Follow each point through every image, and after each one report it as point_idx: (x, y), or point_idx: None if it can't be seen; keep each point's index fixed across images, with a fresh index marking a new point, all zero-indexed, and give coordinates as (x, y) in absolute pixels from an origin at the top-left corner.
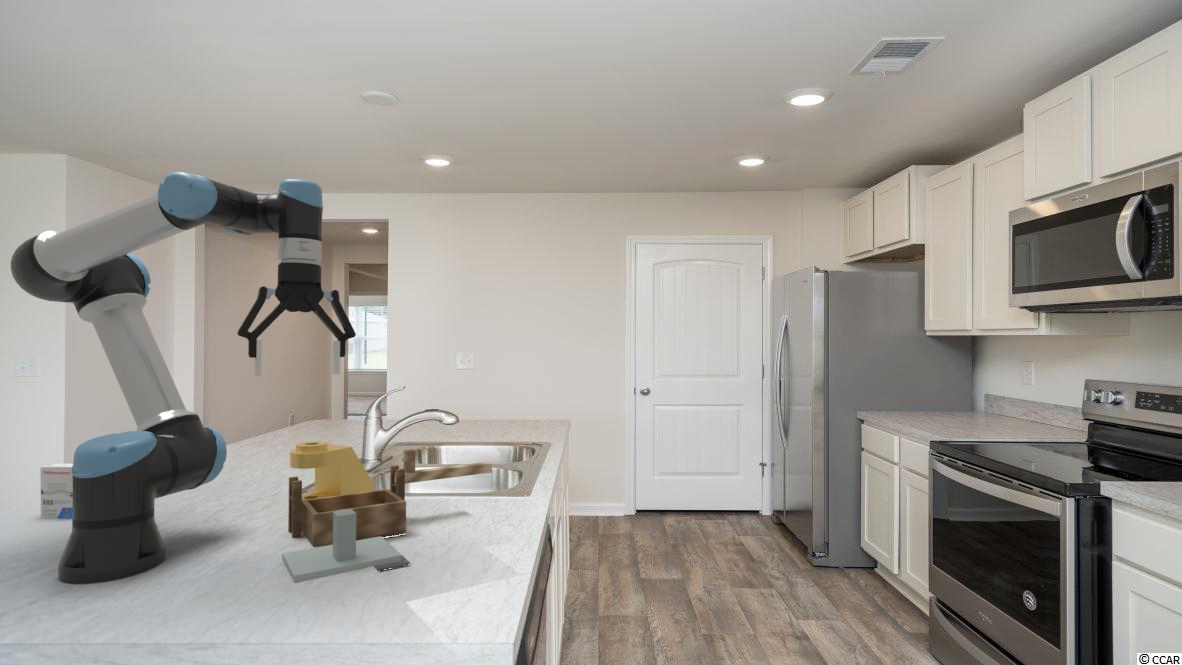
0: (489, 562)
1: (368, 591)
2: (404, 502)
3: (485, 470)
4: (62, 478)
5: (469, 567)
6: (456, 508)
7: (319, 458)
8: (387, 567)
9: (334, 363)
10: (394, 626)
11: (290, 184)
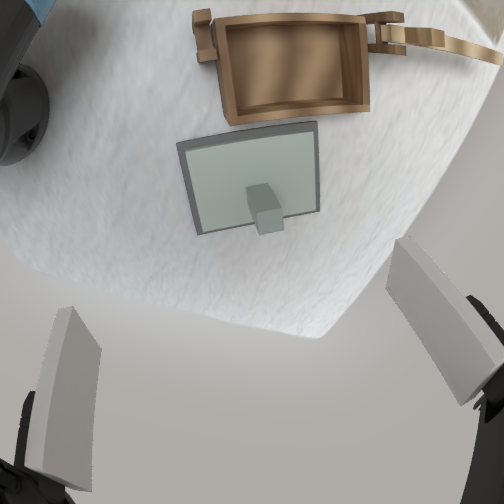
0: (379, 228)
1: (267, 257)
2: (367, 111)
3: (489, 62)
4: None
5: (361, 233)
6: None
7: None
8: (296, 215)
9: (414, 304)
10: (272, 314)
11: None
